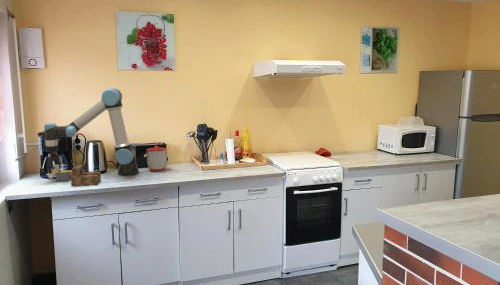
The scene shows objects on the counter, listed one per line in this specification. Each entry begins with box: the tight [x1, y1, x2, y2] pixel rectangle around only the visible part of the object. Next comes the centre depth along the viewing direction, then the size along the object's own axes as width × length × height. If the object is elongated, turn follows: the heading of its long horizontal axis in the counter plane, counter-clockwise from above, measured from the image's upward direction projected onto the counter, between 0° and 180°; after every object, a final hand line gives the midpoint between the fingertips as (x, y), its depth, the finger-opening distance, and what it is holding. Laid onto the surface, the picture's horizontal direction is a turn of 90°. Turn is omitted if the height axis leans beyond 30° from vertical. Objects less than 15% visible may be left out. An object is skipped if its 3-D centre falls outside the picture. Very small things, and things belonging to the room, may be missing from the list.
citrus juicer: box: [143, 145, 168, 173], centre depth 290 cm, size 16×17×20 cm
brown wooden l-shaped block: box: [70, 164, 102, 187], centre depth 251 cm, size 16×12×12 cm
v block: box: [55, 172, 71, 183], centre depth 260 cm, size 8×8×6 cm
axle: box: [53, 169, 72, 177], centre depth 260 cm, size 16×4×4 cm, turn 101°
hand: (54, 175), depth 259 cm, fingers open, 13 cm apart
